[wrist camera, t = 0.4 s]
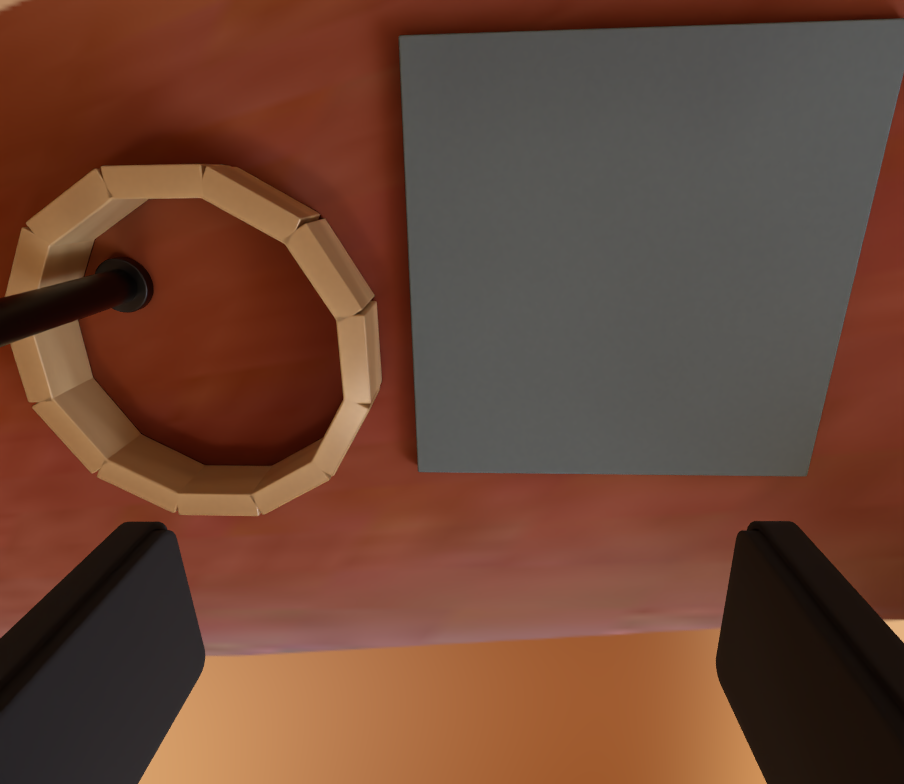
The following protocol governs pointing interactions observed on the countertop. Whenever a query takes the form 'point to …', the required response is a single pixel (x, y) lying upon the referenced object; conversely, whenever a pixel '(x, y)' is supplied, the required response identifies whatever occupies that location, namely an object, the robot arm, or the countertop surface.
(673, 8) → the countertop surface
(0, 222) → the countertop surface
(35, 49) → the countertop surface
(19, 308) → the post stand
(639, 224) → the mat
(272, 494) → the hoop
